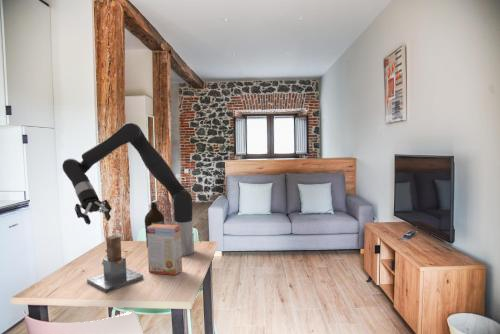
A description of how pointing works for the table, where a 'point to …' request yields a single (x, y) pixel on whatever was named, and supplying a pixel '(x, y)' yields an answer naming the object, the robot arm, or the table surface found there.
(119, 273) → the stand
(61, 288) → the table surface
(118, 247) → the post
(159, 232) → the cracker box
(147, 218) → the olive oil
